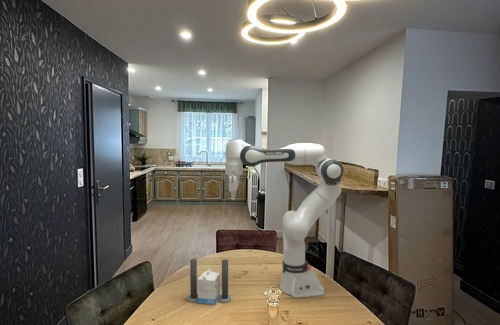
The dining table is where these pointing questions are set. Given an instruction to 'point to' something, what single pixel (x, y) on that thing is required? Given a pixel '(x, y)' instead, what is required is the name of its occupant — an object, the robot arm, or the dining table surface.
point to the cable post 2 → (225, 283)
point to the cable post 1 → (193, 282)
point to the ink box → (209, 287)
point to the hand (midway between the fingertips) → (233, 198)
